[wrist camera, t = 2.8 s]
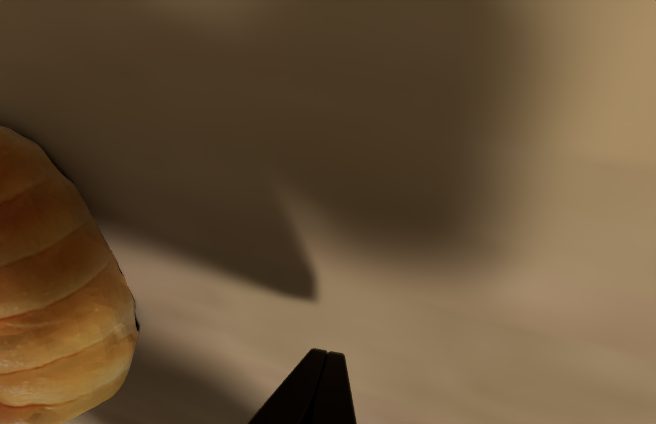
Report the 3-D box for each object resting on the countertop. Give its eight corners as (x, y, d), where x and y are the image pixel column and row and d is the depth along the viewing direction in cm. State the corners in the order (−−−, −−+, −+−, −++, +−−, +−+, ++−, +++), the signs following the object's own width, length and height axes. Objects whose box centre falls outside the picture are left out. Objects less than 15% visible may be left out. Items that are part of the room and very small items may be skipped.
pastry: (-109, 94, 10) (-346, 139, 7) (109, 126, 10) (-48, 193, 6) (12, 328, 15) (-97, 419, 12) (165, 364, 14) (92, 472, 11)
